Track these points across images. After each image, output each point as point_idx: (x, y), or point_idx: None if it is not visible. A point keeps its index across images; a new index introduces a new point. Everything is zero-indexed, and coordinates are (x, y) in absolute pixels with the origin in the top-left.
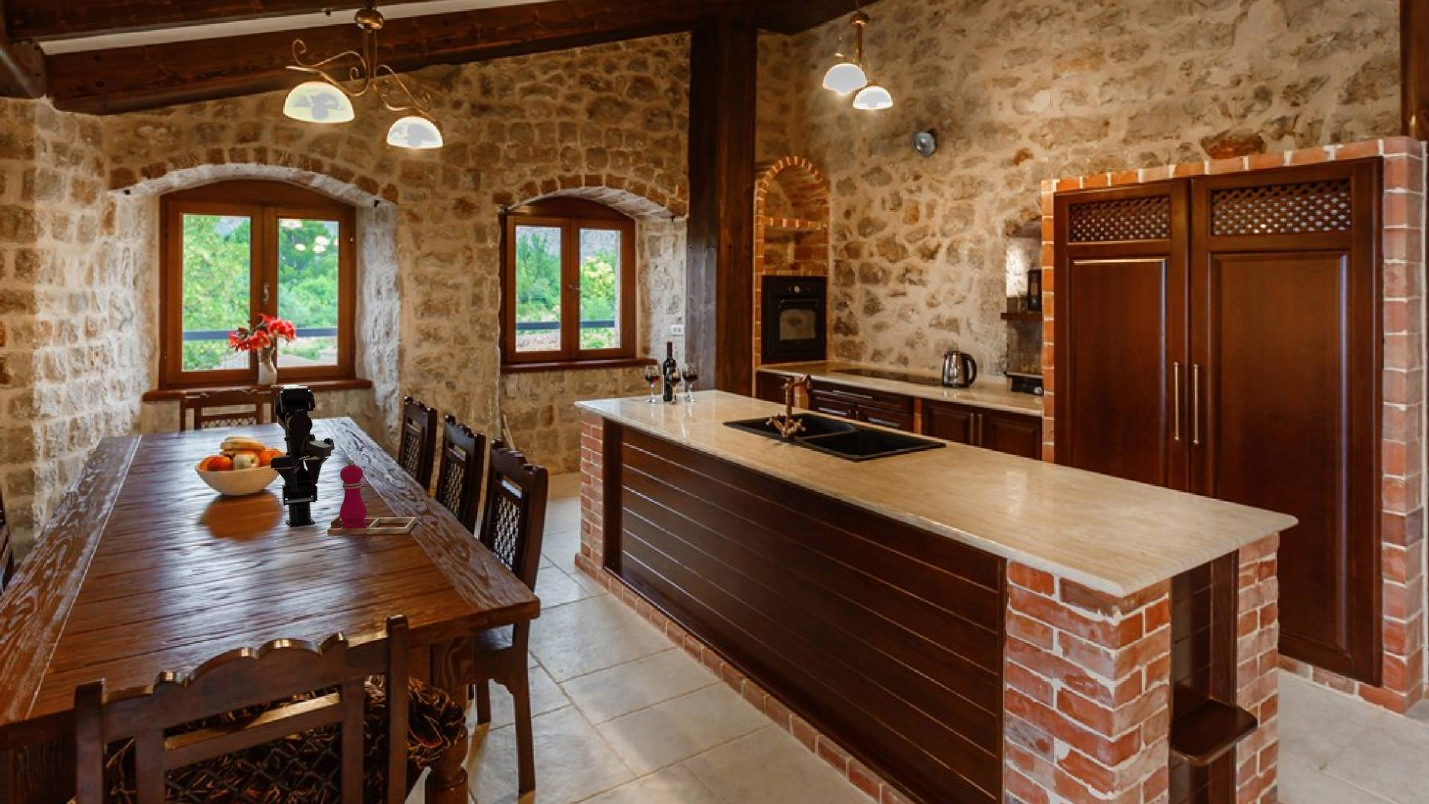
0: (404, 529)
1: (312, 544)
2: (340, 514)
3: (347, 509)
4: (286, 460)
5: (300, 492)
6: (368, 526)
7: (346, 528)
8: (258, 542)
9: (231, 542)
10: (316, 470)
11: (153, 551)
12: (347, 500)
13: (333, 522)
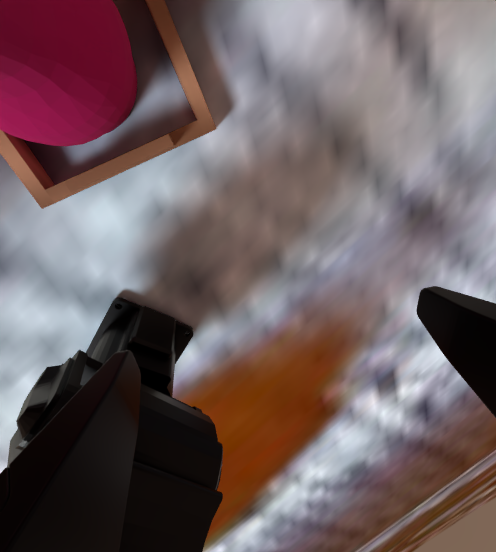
0: None
1: (342, 90)
2: (124, 98)
3: (100, 13)
4: None
5: (164, 408)
6: None
7: (163, 31)
8: (354, 292)
9: (365, 352)
10: (62, 501)
11: (441, 425)
12: (48, 6)
13: (159, 138)
